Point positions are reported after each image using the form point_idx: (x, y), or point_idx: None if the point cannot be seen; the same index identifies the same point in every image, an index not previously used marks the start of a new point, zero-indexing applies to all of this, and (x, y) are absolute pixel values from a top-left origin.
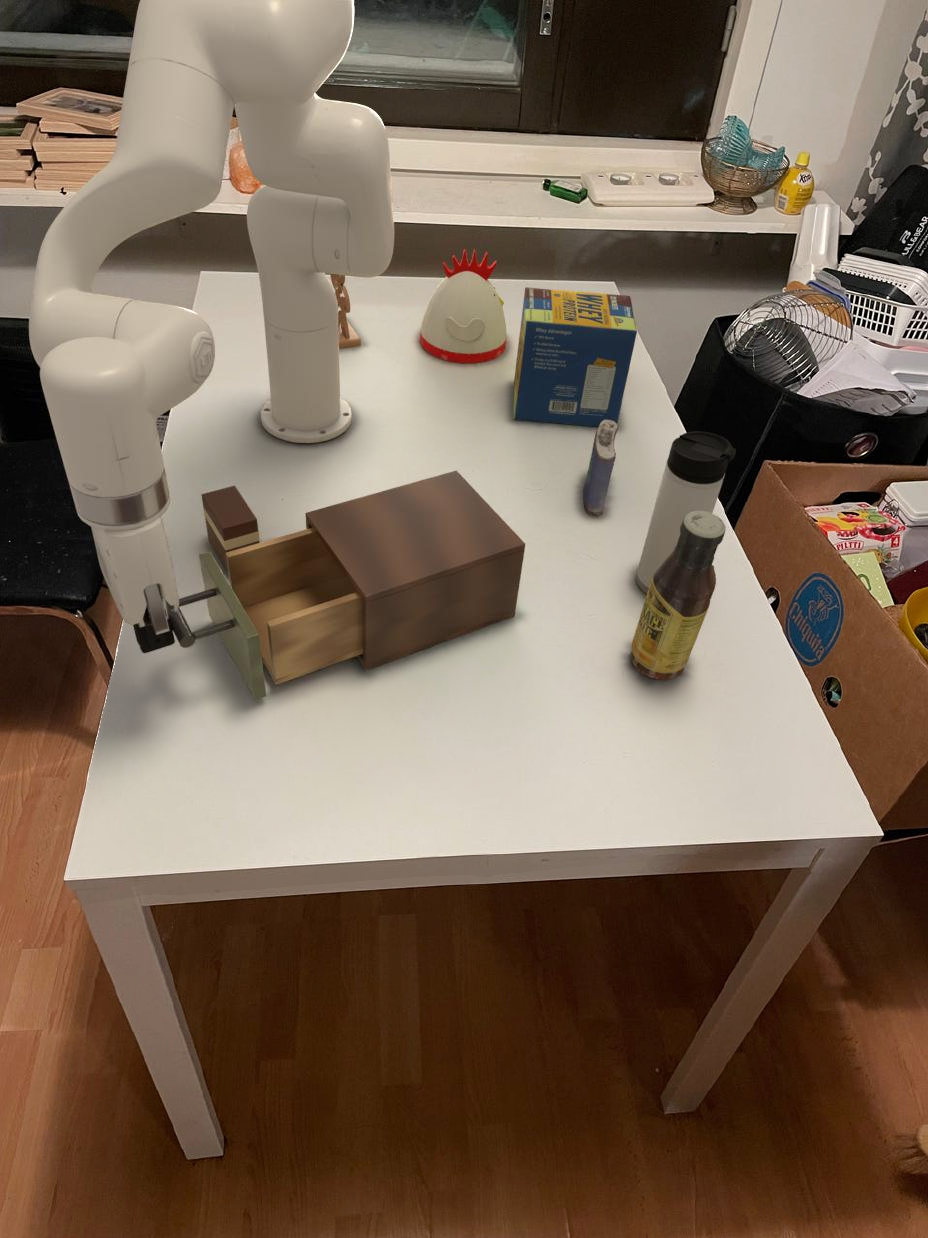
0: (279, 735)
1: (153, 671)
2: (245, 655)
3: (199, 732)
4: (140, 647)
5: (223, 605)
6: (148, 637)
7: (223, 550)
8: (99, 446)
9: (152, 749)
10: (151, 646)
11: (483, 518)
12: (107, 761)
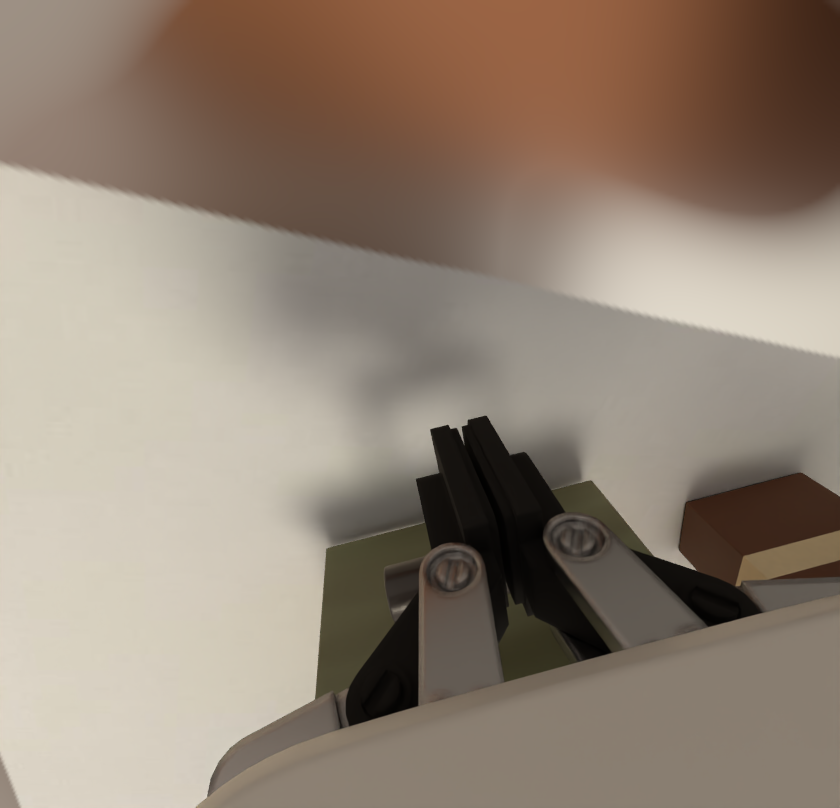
0: (245, 564)
1: (483, 353)
2: (350, 650)
3: (271, 438)
4: (439, 437)
5: (509, 667)
6: (424, 515)
7: (749, 540)
8: None
9: (227, 340)
10: (417, 483)
11: None
12: (190, 222)
